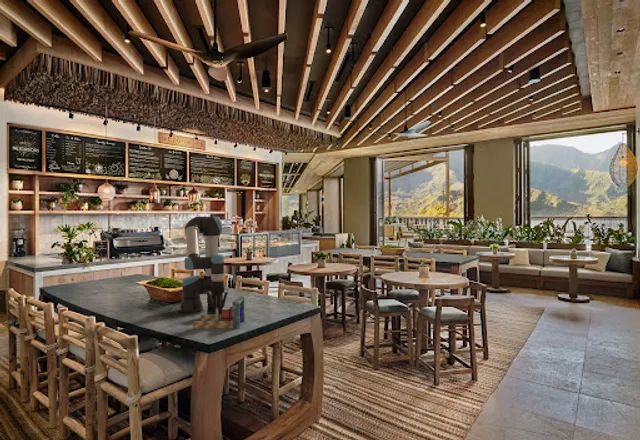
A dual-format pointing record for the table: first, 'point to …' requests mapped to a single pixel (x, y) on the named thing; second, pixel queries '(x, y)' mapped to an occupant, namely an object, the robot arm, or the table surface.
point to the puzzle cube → (229, 313)
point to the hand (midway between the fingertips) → (217, 319)
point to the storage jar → (210, 310)
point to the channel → (211, 321)
